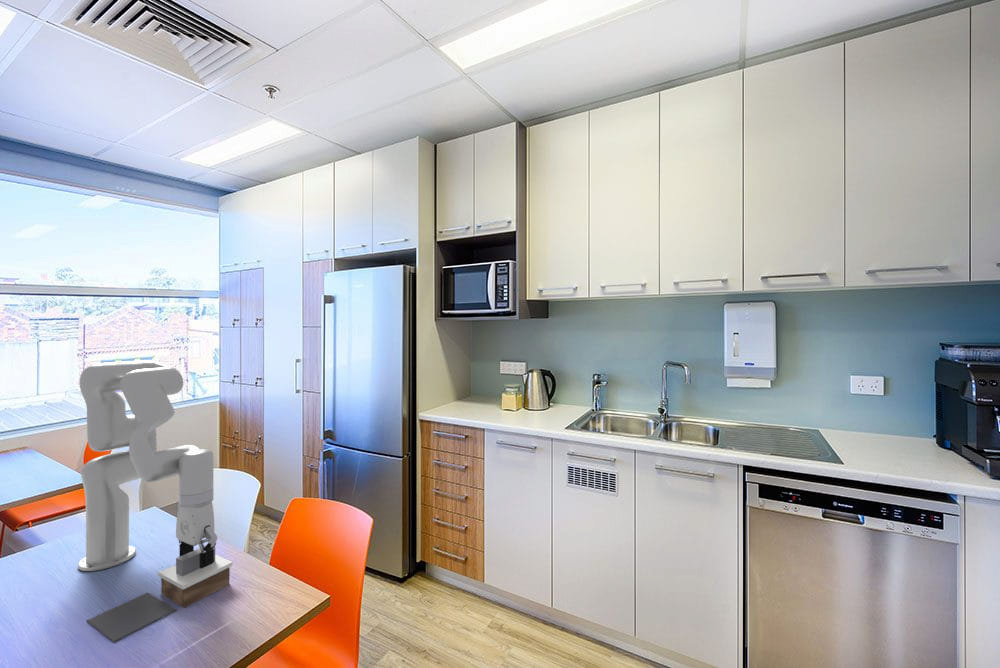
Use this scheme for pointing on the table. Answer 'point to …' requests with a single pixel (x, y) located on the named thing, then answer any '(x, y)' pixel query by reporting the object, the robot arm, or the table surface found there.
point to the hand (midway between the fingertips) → (196, 560)
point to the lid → (192, 569)
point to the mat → (130, 616)
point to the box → (195, 589)
